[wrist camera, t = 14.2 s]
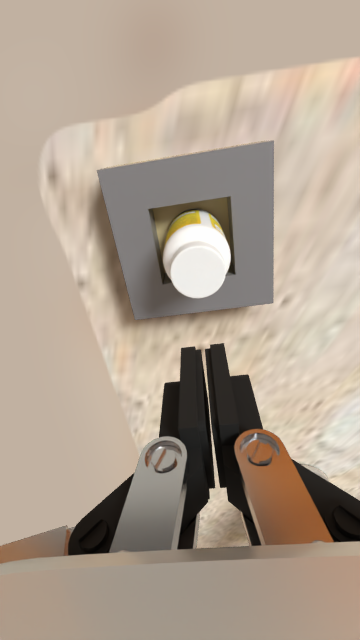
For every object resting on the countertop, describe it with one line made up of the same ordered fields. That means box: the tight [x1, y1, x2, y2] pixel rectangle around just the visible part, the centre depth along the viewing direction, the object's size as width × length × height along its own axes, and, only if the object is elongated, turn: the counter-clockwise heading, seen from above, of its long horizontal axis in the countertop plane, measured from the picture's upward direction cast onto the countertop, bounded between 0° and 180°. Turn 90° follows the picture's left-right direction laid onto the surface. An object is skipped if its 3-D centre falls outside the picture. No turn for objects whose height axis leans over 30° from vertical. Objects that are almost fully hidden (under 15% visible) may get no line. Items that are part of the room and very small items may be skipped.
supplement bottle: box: [163, 209, 231, 298], centre depth 26 cm, size 5×5×10 cm
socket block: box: [97, 141, 274, 320], centre depth 29 cm, size 14×14×4 cm
